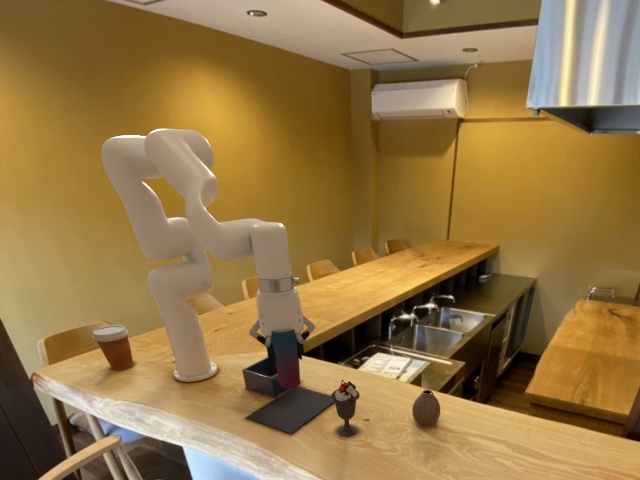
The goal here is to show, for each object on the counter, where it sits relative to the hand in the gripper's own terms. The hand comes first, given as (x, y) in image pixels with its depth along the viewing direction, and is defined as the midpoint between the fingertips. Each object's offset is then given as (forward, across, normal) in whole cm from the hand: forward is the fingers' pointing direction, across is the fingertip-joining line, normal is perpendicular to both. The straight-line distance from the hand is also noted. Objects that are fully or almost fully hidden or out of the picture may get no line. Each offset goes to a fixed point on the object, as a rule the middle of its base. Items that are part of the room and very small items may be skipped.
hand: (286, 358), depth 104 cm
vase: (+15, -31, +16) cm, 38 cm away
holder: (+14, +5, -15) cm, 21 cm away
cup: (+7, 0, 0) cm, 7 cm away
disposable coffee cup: (+14, +51, -42) cm, 67 cm away
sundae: (+15, -12, +14) cm, 24 cm away
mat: (+14, 0, 0) cm, 14 cm away
